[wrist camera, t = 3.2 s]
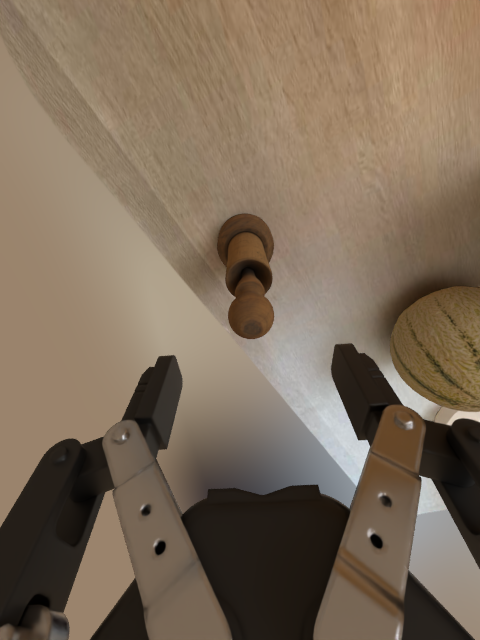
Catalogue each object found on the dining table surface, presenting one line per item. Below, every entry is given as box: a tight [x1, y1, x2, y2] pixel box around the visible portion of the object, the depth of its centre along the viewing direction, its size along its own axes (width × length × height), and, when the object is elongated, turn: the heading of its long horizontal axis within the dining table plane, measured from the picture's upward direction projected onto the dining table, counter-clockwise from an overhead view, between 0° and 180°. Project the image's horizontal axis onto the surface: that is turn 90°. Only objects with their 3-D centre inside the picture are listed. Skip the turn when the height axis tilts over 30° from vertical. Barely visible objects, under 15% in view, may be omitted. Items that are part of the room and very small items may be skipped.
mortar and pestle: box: [217, 214, 274, 339], centre depth 23 cm, size 7×6×18 cm
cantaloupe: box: [390, 286, 480, 412], centre depth 30 cm, size 15×15×15 cm
